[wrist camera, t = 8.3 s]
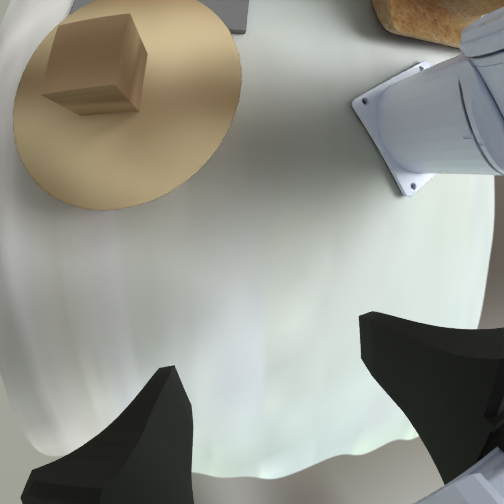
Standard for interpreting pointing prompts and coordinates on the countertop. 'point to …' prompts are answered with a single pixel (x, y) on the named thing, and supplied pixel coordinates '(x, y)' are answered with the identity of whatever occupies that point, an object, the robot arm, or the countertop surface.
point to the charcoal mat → (221, 3)
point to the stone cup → (432, 17)
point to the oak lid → (126, 101)
